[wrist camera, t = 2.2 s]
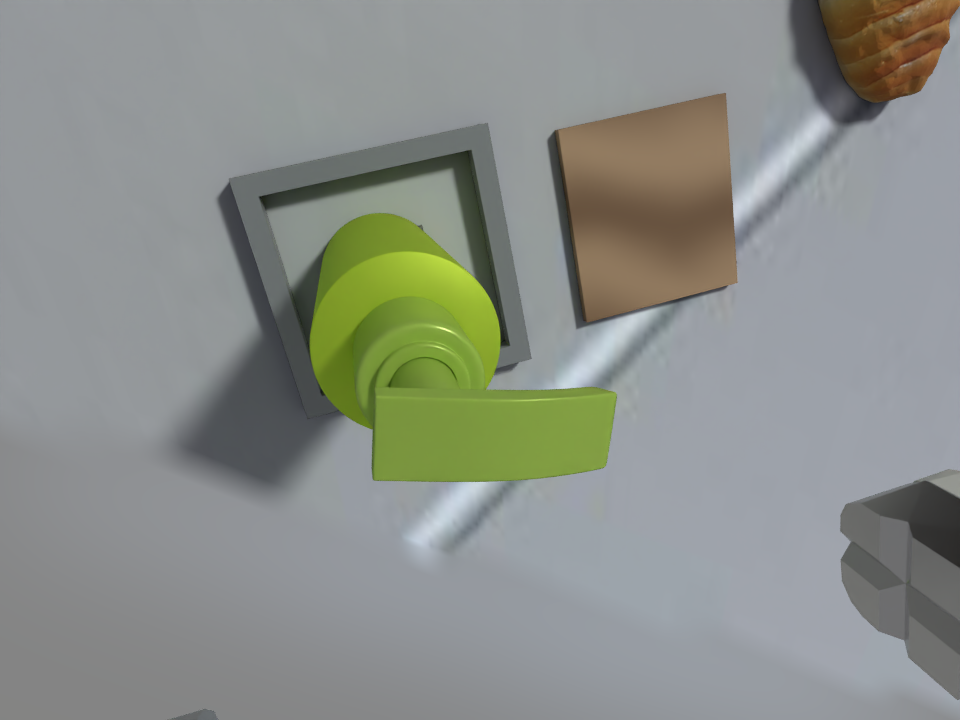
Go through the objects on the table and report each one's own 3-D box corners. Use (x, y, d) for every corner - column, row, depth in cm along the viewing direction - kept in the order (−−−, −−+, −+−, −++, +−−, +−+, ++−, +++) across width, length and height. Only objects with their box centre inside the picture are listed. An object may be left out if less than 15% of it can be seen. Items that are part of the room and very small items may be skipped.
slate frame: (232, 177, 29) (228, 178, 28) (483, 123, 30) (487, 122, 30) (308, 411, 33) (307, 419, 32) (526, 353, 35) (531, 358, 34)
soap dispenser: (456, 331, 33) (603, 555, 15) (321, 328, 32) (294, 573, 13) (464, 218, 32) (641, 308, 13) (321, 209, 30) (292, 297, 11)
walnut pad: (554, 130, 31) (558, 129, 31) (720, 93, 32) (725, 92, 32) (583, 320, 35) (587, 322, 34) (732, 281, 36) (737, 282, 35)
